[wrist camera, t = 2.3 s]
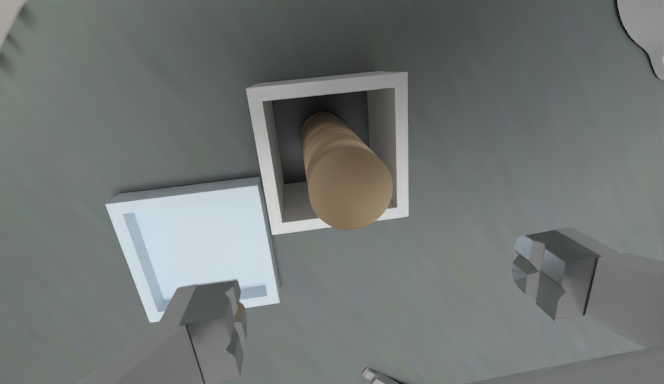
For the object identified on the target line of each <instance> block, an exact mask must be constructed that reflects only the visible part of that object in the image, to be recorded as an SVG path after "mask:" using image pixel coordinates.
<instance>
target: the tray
mask: <svg viewBox="0 0 664 384" xmlns="http://www.w3.org/2000/svg"><path fill="white" fill-rule="evenodd" d="M105 205H106V207H107V210H108V213H109V215H110V218H111V221H112V223H113V226H114V229H115V231H116V234H117V236H118V239H119V242H120V244H121V247H122V250H123V252H124V255H125V258H126V260H127V263H128V266H129V268H130V271H131V274H132V276H133V279H134V281H135V284H136V287H137V289H138V292H139V295H140V297H141V300H142V303H143V305H144V308H145V311H146V313H147V316H148V319H149V321H150V322H157V321H160V320H161V318H162V316H163V314H164V312H165V310H166V308H167V306H168V304H169V302H170V300H171V298H172V297H173V295H174V293H175V291H176V289H177V288H179V287H181V286H187V285H193V284H201V283H209V282H216V281H224V280H232V279H237V281H238V282H239V286H240V290H241V295H240V300H239V302H241V303H242V304H243V305H244V307H245V308H248V307H255V306H261V305H268V304H274V303H280V282H279V277H278V271H277V266H276V260H275V255H274V249H273V244H272V238H271V233H270V227H269V222H268V216H267V211H266V205H265V200H264V194H263V188H262V183H261V177H260V176H259V177H251V178H243V179H235V180H227V181H219V182H210V183H202V184H194V185H186V186H178V187H170V188H161V189H153V190H145V191H137V192H129V193H121V194H119V195H118V196H116V197H115V198H113V199H112V200H111V201H109V202H108V203H107V204H105Z"/></svg>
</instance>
